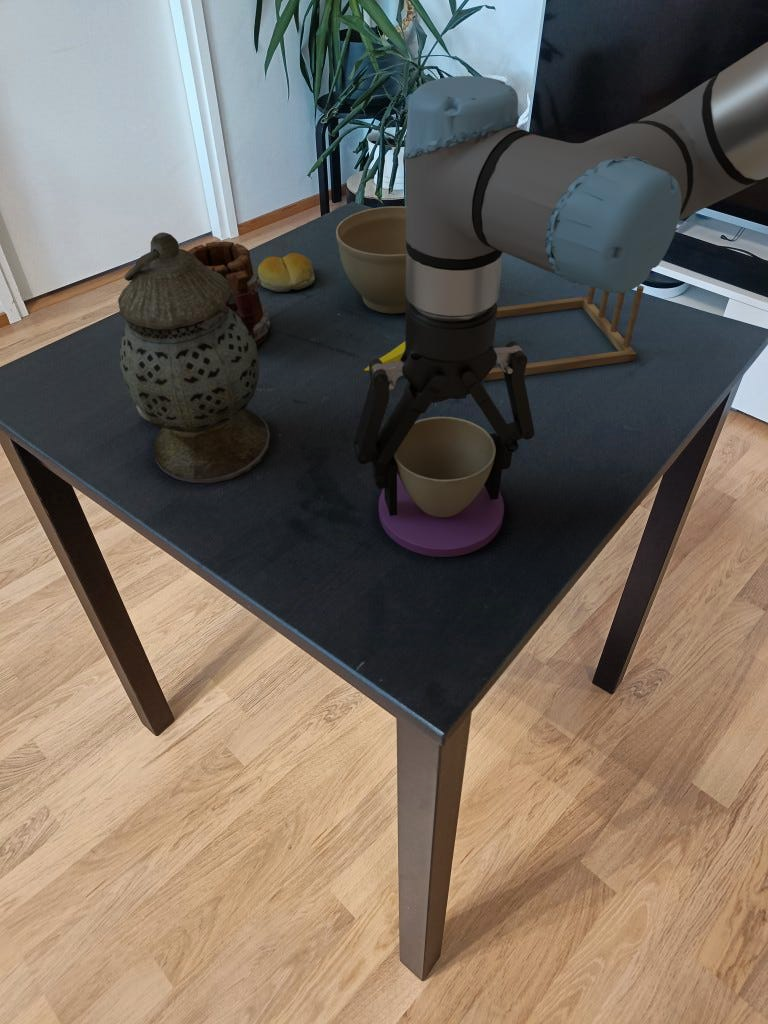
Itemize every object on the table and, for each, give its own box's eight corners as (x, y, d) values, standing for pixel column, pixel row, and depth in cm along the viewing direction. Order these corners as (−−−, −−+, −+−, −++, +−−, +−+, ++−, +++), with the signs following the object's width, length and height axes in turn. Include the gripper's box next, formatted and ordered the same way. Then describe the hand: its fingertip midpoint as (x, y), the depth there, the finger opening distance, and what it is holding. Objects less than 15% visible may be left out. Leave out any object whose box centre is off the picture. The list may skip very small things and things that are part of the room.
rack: (634, 360, 94) (651, 293, 88) (482, 381, 92) (488, 313, 85) (585, 303, 106) (598, 240, 99) (449, 320, 103) (452, 256, 96)
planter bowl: (324, 288, 111) (318, 218, 103) (417, 267, 115) (418, 198, 108) (366, 337, 100) (363, 263, 93) (466, 311, 105) (471, 238, 97)
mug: (249, 302, 107) (241, 208, 95) (293, 358, 101) (290, 265, 89) (175, 324, 103) (157, 229, 91) (216, 384, 96) (201, 290, 84)
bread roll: (256, 273, 115) (252, 249, 112) (310, 267, 116) (308, 243, 113) (260, 297, 109) (256, 272, 106) (318, 290, 110) (315, 265, 107)
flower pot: (506, 489, 75) (513, 435, 70) (461, 549, 69) (465, 494, 64) (423, 457, 79) (425, 404, 74) (374, 511, 73) (372, 457, 68)
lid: (520, 545, 71) (522, 537, 70) (393, 567, 69) (393, 559, 68) (481, 463, 80) (482, 455, 79) (368, 480, 78) (367, 472, 78)
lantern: (166, 499, 77) (99, 286, 59) (135, 424, 86) (69, 219, 68) (287, 460, 81) (260, 251, 63) (247, 393, 90) (212, 192, 72)
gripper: (564, 264, 62) (532, 459, 78) (308, 294, 59) (327, 491, 75) (600, 305, 57) (558, 506, 72) (320, 340, 54) (339, 542, 69)
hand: (441, 498), depth 73 cm, fingers closed on flower pot, 10 cm apart
